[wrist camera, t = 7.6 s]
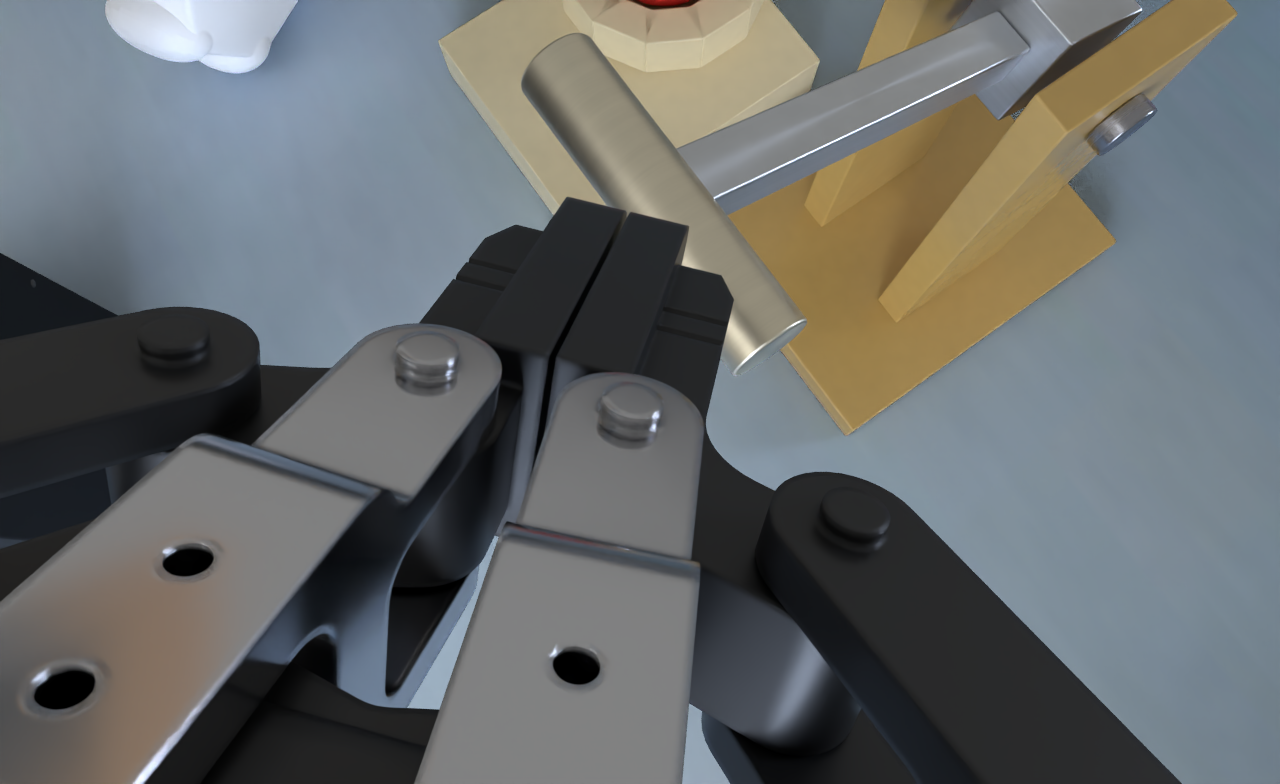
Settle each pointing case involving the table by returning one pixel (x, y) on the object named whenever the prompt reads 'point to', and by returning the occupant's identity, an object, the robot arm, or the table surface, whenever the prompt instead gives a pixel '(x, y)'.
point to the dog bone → (201, 29)
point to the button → (663, 2)
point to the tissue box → (24, 304)
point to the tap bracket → (954, 210)
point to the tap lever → (797, 134)
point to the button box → (629, 71)
